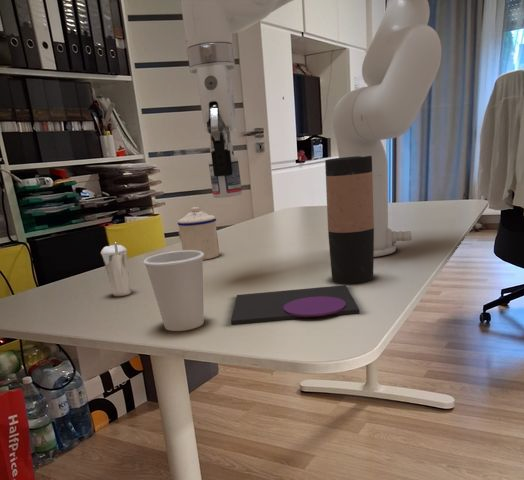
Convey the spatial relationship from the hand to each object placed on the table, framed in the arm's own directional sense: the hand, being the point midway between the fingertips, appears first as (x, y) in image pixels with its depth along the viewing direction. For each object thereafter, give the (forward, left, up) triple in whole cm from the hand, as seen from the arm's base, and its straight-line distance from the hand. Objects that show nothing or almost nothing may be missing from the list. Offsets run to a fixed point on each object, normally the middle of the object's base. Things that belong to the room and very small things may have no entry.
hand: (225, 173), depth 93 cm
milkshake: (+21, +4, -19) cm, 29 cm away
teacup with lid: (+11, -28, -19) cm, 36 cm away
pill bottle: (0, 0, -4) cm, 4 cm away
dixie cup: (+6, +26, -19) cm, 33 cm away
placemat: (-10, +21, -19) cm, 30 cm away
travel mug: (-21, +8, -19) cm, 30 cm away
